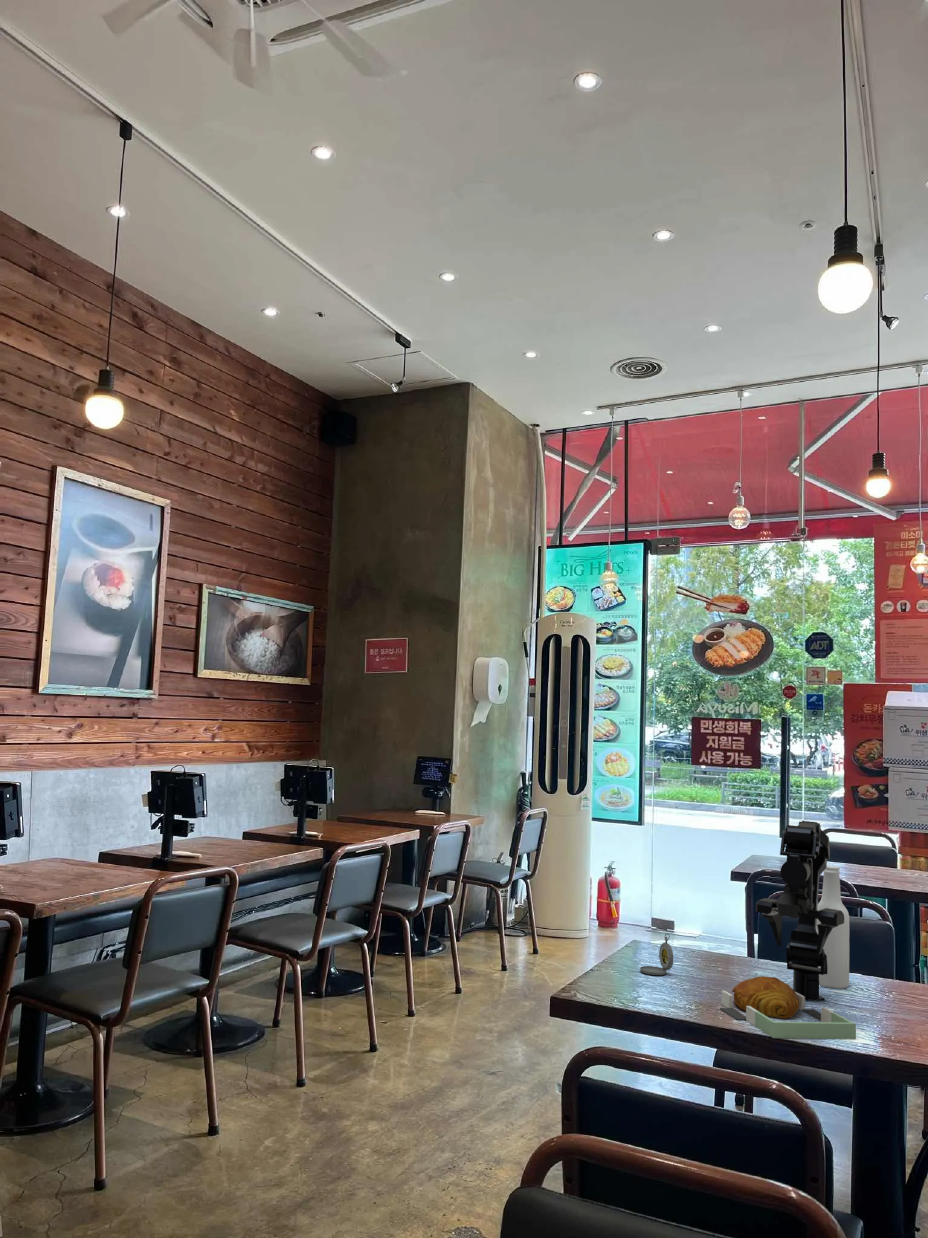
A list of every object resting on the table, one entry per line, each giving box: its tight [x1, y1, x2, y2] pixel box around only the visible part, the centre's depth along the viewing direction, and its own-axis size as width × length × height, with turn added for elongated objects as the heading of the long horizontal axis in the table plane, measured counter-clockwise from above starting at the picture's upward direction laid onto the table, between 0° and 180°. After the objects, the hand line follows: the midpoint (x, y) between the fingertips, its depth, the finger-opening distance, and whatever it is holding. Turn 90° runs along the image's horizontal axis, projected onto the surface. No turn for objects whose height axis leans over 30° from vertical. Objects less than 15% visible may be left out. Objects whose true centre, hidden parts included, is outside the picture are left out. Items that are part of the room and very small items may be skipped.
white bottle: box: [816, 864, 850, 990], centre depth 237 cm, size 9×9×30 cm
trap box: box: [719, 990, 857, 1040], centre depth 200 cm, size 24×23×3 cm
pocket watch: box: [639, 932, 674, 976], centre depth 236 cm, size 8×8×10 cm
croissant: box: [731, 975, 799, 1020], centre depth 209 cm, size 14×16×8 cm
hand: (798, 950), depth 210 cm, fingers open, 9 cm apart
